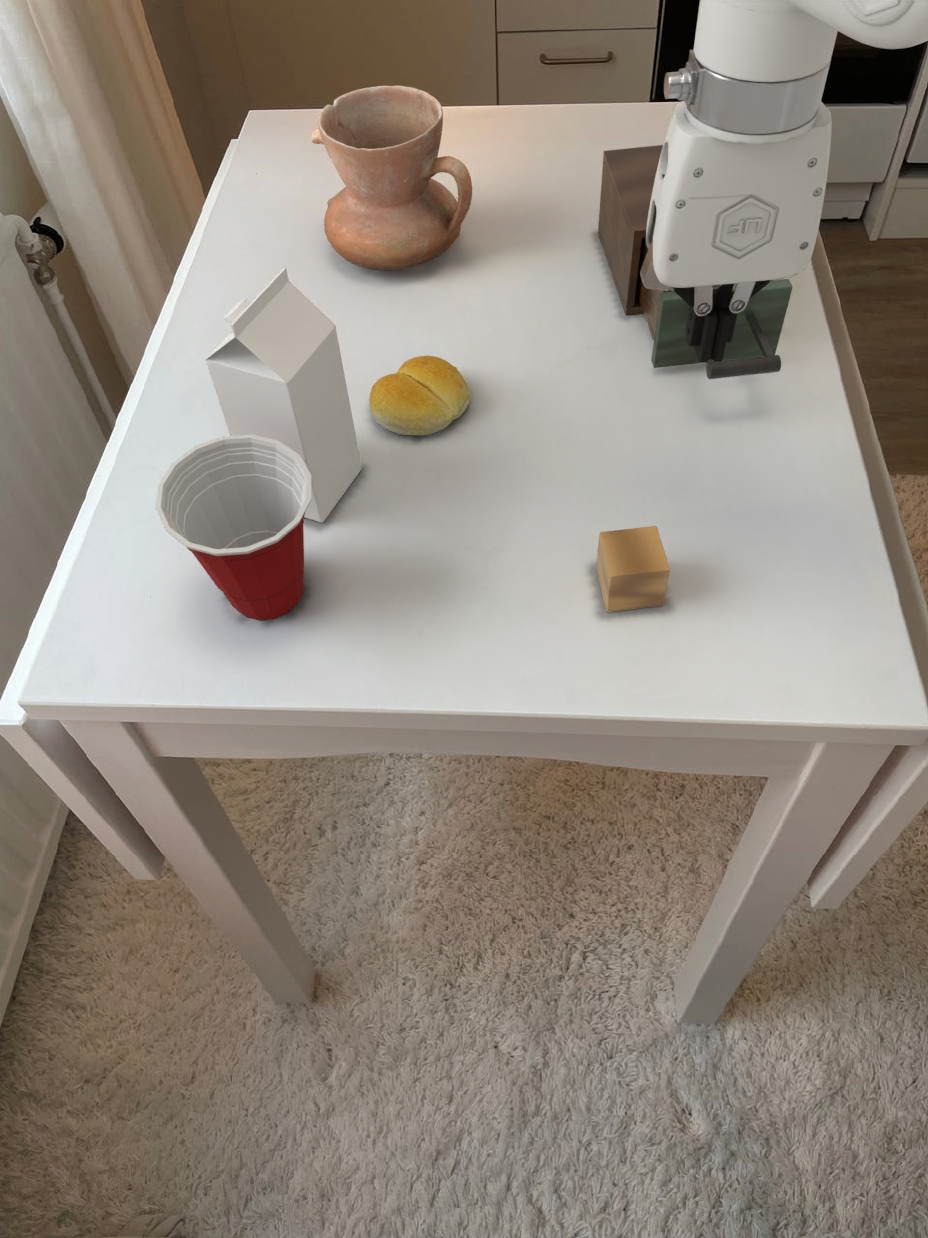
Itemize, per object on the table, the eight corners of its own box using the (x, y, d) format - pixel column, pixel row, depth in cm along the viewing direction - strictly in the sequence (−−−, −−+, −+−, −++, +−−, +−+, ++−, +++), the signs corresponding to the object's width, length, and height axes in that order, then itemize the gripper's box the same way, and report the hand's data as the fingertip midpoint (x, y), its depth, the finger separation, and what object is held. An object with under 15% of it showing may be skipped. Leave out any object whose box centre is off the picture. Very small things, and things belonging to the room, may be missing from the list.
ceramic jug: (293, 262, 103) (265, 129, 91) (366, 196, 110) (348, 65, 98) (437, 306, 97) (426, 170, 85) (504, 233, 104) (502, 99, 93)
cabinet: (750, 302, 95) (770, 216, 87) (625, 315, 94) (634, 230, 87) (712, 221, 103) (727, 137, 96) (597, 233, 103) (603, 150, 96)
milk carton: (363, 469, 83) (327, 277, 68) (322, 525, 80) (275, 335, 64) (293, 447, 85) (243, 257, 70) (250, 501, 82) (188, 312, 66)
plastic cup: (246, 674, 71) (203, 572, 61) (176, 588, 76) (126, 482, 67) (364, 598, 75) (341, 491, 65) (290, 521, 80) (258, 412, 70)
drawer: (799, 406, 84) (820, 338, 78) (672, 420, 84) (683, 352, 78) (735, 271, 96) (749, 202, 91) (623, 282, 96) (630, 215, 90)
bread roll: (354, 411, 88) (348, 377, 85) (427, 366, 91) (423, 331, 88) (413, 455, 84) (409, 420, 81) (486, 406, 87) (485, 371, 84)
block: (650, 562, 76) (656, 525, 72) (663, 606, 73) (670, 569, 69) (595, 568, 75) (599, 531, 72) (606, 612, 73) (610, 576, 69)
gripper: (637, 130, 52) (612, 393, 67) (908, 106, 52) (823, 374, 67) (613, 68, 57) (595, 327, 71) (863, 46, 57) (792, 309, 72)
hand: (705, 349), depth 69 cm, fingers closed
